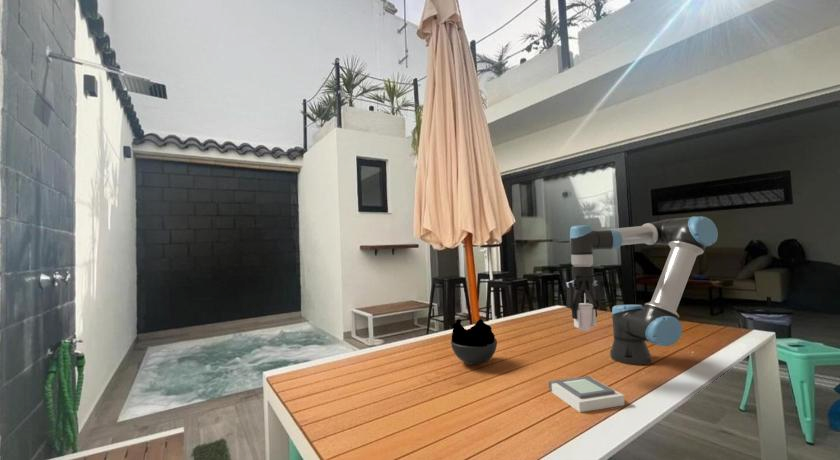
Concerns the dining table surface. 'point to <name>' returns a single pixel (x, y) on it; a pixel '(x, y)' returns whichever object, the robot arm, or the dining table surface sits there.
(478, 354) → the bowl of black rocks
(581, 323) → the smoothie
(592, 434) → the dining table surface
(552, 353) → the dining table surface
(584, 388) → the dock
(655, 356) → the dining table surface
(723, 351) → the dining table surface
